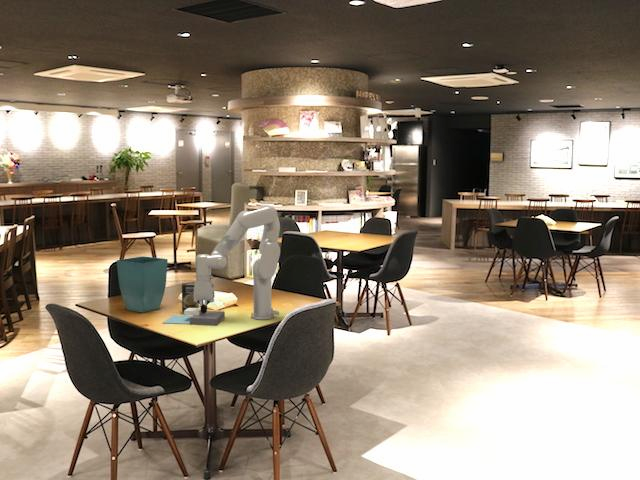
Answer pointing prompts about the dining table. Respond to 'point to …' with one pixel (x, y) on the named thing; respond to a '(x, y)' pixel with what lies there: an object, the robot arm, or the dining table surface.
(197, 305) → the coffee box
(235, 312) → the dining table surface
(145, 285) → the flower pot
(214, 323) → the board
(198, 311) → the tile
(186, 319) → the mat
